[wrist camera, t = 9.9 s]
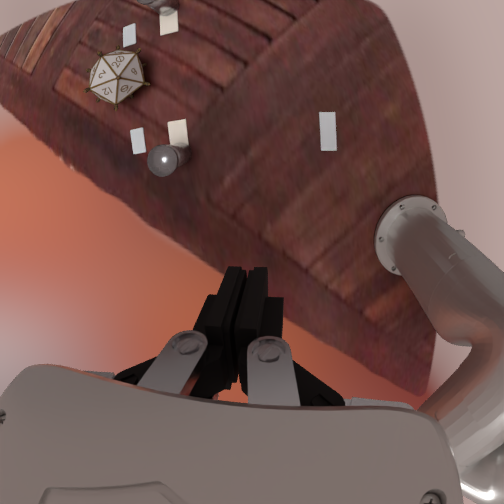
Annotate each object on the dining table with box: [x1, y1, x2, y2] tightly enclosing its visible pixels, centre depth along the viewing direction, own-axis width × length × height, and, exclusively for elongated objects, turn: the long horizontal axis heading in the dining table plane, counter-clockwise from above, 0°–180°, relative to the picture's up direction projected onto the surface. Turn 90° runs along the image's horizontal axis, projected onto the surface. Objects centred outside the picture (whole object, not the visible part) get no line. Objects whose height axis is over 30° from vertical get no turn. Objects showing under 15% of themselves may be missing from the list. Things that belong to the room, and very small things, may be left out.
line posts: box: [137, 0, 192, 177], centre depth 27 cm, size 4×26×7 cm, turn 5°
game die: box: [83, 45, 151, 111], centre depth 26 cm, size 9×8×10 cm
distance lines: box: [123, 11, 337, 154], centre depth 29 cm, size 27×22×1 cm
